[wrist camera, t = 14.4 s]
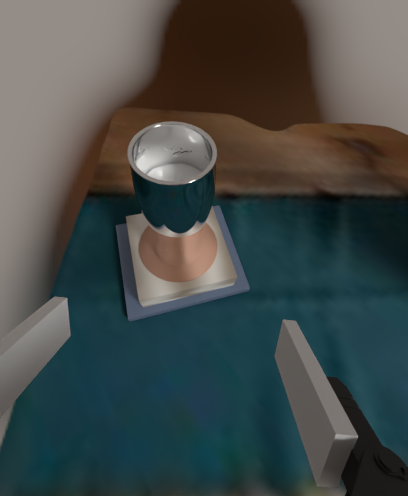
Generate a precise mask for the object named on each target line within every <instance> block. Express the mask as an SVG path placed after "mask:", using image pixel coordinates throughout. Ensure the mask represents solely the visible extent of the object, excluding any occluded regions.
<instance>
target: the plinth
mask: <svg viewBox="0 0 408 496" xmlns="http://www.w3.org/2000/svg"><path fill="white" fill-rule="evenodd" d="M126 222H127V228H128V235H129V241H130V247H131V254H132V260H133V266H134V273H135V279H136V286H137V292H138V298H139V302H140V304H141V305H142V306H143V308H144V307H148V306H152V305H156V304H160V303H164V302H168V301H172V300H176V299H180V298H184V297H188V296H192V295H196V294H200V293H204V292H208V291H212V290H216V289H220V288H224V287H228V286H231V285H234V283H235V281H236V279H237V274H236V271H235V269H234V266H233V263H232V260H231V257H230V255H229V252H228V249H227V246H226V243H225V240H224V238H223V235H222V232H221V229H220V226H219V223H218V221H217V218H216V215H215V212H214V209H213V206H212V208H211V211H210V214H209V216H208V219H207V221H206V223H205V225H204V228H203V230H202V232H201V235H202V238H203V251H202V253H201V255H200V257H199V258H198V259H197V260H196V261H195V262H193V263H192V264H190V265H187V266H183V267H175V266H171V265H168V264H166V263H165V262H163V261H162V260H161V259H160V258H159V256H158V254H157V252H156V248H155V241H156V235H155V233H154V232H153V230H152V229H151V227H150V226H149V224H148V222H147V221H146V219H145V217H144V215H143V213H142V214H137V215H131V216H126Z"/></svg>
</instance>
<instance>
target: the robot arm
mask: <svg viewBox="0 0 408 496" xmlns="http://www.w3.org/2000/svg"><path fill="white" fill-rule="evenodd" d="M70 336H71V335H70V325H69V314H68V304H67V298H63V297H53V298H52V299H51V300H50V301H48V302H47V303H46V304H45V305H44V306H42V307H41V308H40V309H38V310H37V311H36V312H35V313H33V314H32V315H31V316H30V317H28V318H27V319H26V320H25V321H23V322H22V323H21V324H19V325H18V326H17V327H16V328H14V329H13V330H12V331H11V332H10V333H8V334H7V335H6V336H5V337H3V338H2V339H1V340H0V417H1V416H2V415H3V414H4V413H5V411H6V410H7V409H8V408H9V407H10V406H11V404H12V403H13V402H14V401H15V400H16V399H17V398H18V396H19V395H20V394H21V393H22V392H23V391H24V389H25V388H26V387H27V386H28V385H29V384H30V382H31V381H32V380H33V379H34V378H35V377H36V375H37V374H38V373H39V372H40V371H41V370H42V368H43V367H44V366H45V365H46V364H47V363H48V361H49V360H50V359H51V358H52V357H53V356H54V354H55V353H56V352H57V351H58V350H59V349H60V348H61V346H62V345H63V344H64V343H65V342H66V341H67V339H68V338H69V337H70ZM275 359H276V362H277V365H278V368H279V371H280V374H281V377H282V381H283V384H284V387H285V390H286V393H287V396H288V399H289V402H290V405H291V408H292V411H293V414H294V417H295V420H296V423H297V426H298V429H299V433H300V436H301V439H302V442H303V445H304V448H305V451H306V454H307V457H308V460H309V463H310V466H311V469H312V472H313V475H314V478H315V481H316V485H317V486H323V487H333V488H337V487H338V485H339V482H340V480H341V477H342V480H343V482H344V485H345V487H346V489H347V492H346V494H345V496H408V467H407V466H406V464H405V463H404V462H403V461H402V460H401V459H400V458H399V456H397V455H396V454H395V453H394V452H392V451H391V450H390V449H388V448H386V447H384V446H383V445H382V444H381V442H380V441H379V439H378V438H377V436H376V434H375V433H374V431H373V429H372V428H371V426H370V424H369V423H368V421H367V420H366V418H365V416H364V415H363V413H362V411H361V410H360V409H359V407H358V405H357V403H356V402H355V400H353V397H352V395H351V393H350V392H349V390H348V389H347V387H346V386H345V385H344V384H343V383H342V382H341V381H340V380H339V379H338V378H335V377H326V376H325V374H324V372H323V370H322V368H321V367H320V365H319V363H318V361H317V359H316V357H315V356H314V354H313V352H312V350H311V348H310V346H309V344H308V343H307V341H306V339H305V337H304V335H303V333H302V332H301V330H300V328H299V326H298V324H297V322H296V321H291V320H283V322H282V326H281V331H280V335H279V340H278V344H277V349H276V353H275Z"/></svg>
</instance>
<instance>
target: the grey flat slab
mask: <svg viewBox="0 0 408 496" xmlns="http://www.w3.org/2000/svg"><path fill="white" fill-rule="evenodd" d="M213 209H214V212H215V215H216V218H217V221H218V223H219V226H220V229H221V232H222V235H223V238H224V240H225V243H226V246H227V249H228V252H229V255H230V257H231V260H232V263H233V266H234V269H235V271H236V274H237V279H236V281H235V283H234V285H231V286H228V287H224V288H220V289H216V290H212V291H208V292H204V293H200V294H196V295H192V296H188V297H184V298H180V299H176V300H172V301H168V302H164V303H160V304H156V305H152V306H148V307H144V308H143V306H142V305H141V304H140V302H139V298H138V292H137V286H136V279H135V273H134V266H133V260H132V254H131V247H130V241H129V235H128V228H127V223H125V224H120V225H116V232H117V239H118V247H119V254H120V262H121V269H122V277H123V284H124V292H125V300H126V307H127V315H128V320H129V321H130V322H131V321H134V320H138V319H142V318H146V317H150V316H154V315H158V314H161V313H165V312H169V311H173V310H177V309H181V308H185V307H189V306H192V305H196V304H200V303H204V302H208V301H212V300H216V299H219V298H223V297H227V296H231V295H235V294H239V293H243V292H246V291H248V290H249V289H250V287H249V284H248V282H247V279H246V276H245V274H244V271H243V268H242V265H241V263H240V260H239V257H238V255H237V252H236V249H235V246H234V244H233V241H232V238H231V236H230V233H229V230H228V228H227V225H226V222H225V219H224V217H223V214H222V211H221V209H220V206H214V207H213Z"/></svg>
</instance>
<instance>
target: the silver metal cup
mask: <svg viewBox="0 0 408 496" xmlns="http://www.w3.org/2000/svg"><path fill="white" fill-rule="evenodd" d="M127 155H128V160H129V163H130V169H131V175H132V181H133V186H134V190H135V194H136V198H137V201H138V204H139V206H140V209H141V211H142V213H143V215H144V217H145V219H146V221H147V222H148V224H149V226H150V227H151V229H152V230H153V232H154V233H155V235H156V241H155V248H156V252H157V254H158V256H159V258H160V259H161V260H162V261H163V262H165V263H166V264H168V265H171V266H175V267H183V266H187V265H190V264H192V263H193V262H195V261H196V260H197V259H198V258H199V257H200V255H201V253H202V251H203V238H202V235H201V232H202V230H203V228H204V225H205V223H206V221H207V219H208V216H209V214H210V211H211V208H212V204H213V199H214V194H215V184H216V159H217V149H216V145H215V143H214V141H213V140H212V138H211V137H210V136H209V135H208V134H207V133H206V132H205V131H203V130H202V129H200V128H198V127H196V126H194V125H191V124H187V123H183V122H161V123H157V124H153V125H150V126H148V127H146V128H144V129H142V130H141V131H140V132H138V133H137V134H136V135H135V136H134V137H133V139H132V140H131V142H130V144H129V146H128V152H127Z"/></svg>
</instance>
